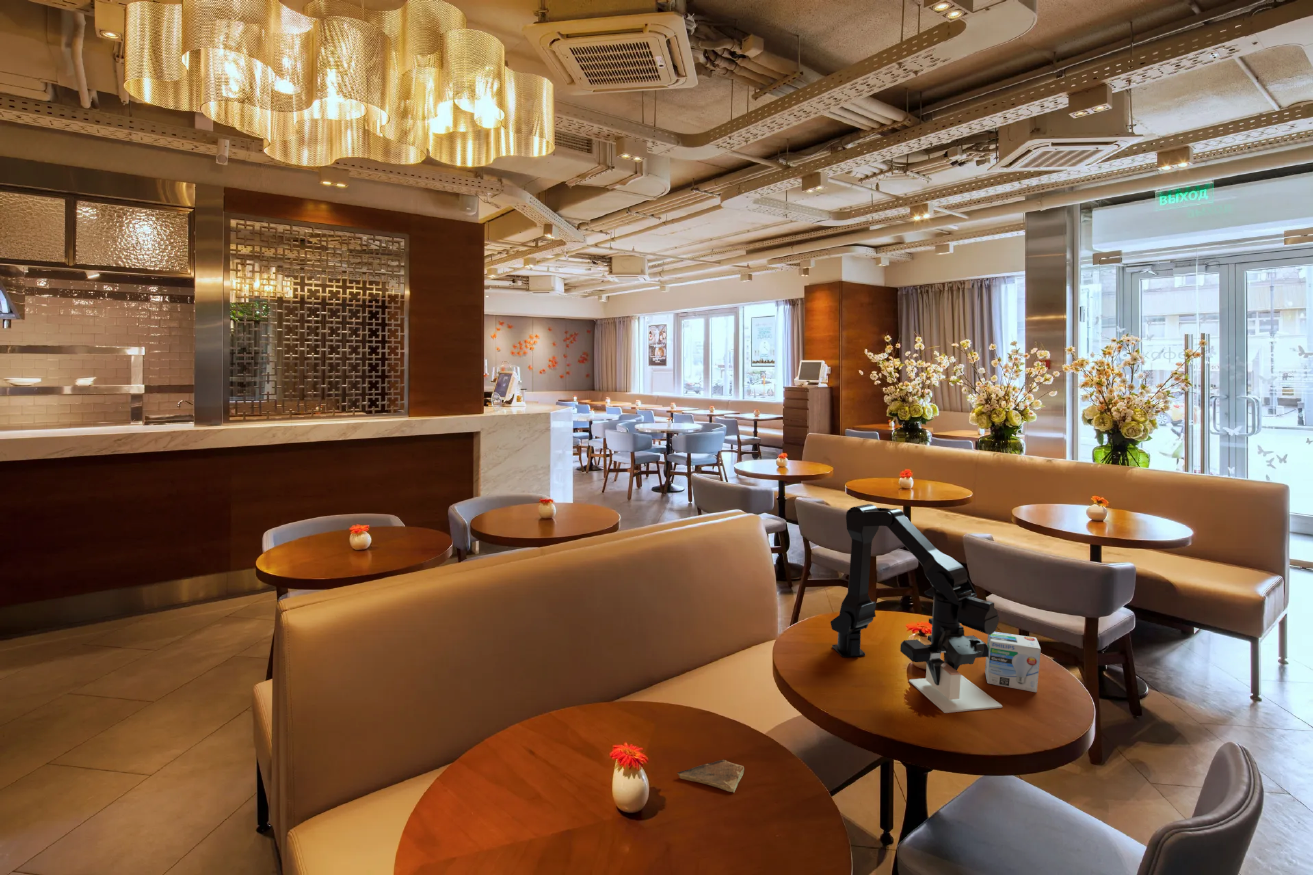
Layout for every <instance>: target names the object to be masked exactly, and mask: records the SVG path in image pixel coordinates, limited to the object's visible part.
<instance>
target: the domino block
mask: <svg viewBox="0 0 1313 875" xmlns="http://www.w3.org/2000/svg"><path fill="white" fill-rule="evenodd" d="M940 659H941V660H943V659H942V658H940ZM925 671H926V673H925V678H926V680H927V681H928V682H929V683H930V684H931V685H933V686H934V687H935V688H936V689H937V690H938V691H940V692H941V693H942V694H943V695H944V696H946V697H947V698H948V699H949V700H952V699H959V695H960V680H961V675H962V674H961V673H960V672H959V671H958V670H957V671H956V670H955V669H954V668H952V667H951V666H950V665H948V664H947V663H946V662H944V663H943V664H942V665H941V669H940V682H939V685H936V684H935V683H934V680H933V678H932V675H931V672H930V670H929V667H928V665H927V664H926V669H925Z"/></svg>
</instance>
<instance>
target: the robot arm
mask: <svg viewBox="0 0 1313 875" xmlns="http://www.w3.org/2000/svg"><path fill="white" fill-rule="evenodd" d="M845 523H846V530H847V533H848V534H849V537H850V538H851V543H850V544H851V545H850V547H851V548H850V557H849V558H850V559H849V572H848V575H849V576H848V587H847V588H848V590H847V593H846V595H845V597H844V598H843V600H842V601H841V605H840V608H839V614H838V616H837V615H836V617H834V618H833V619H832V620H830V622H829V623H830V627H831V630H832V631H835V632H837V644H831V646H832V648H833V649H834V650H835V651H836V652H837V653H838V655H840V656H841V657H842V658H851V657H852V658H853V657H863V656H866V652H865V651H864V650H863V649H861V639H862V636H861V635H862V633H861V632H862V630H864V629H867V628H868V626H869V624H871V623H872V622H873V621H874V618H876V617H877V615H876V608H877V602H876V601H872V600H871V598H870V595H869V585H870V584H869V583H870V572H871V570H870V569H871V558H872V556H871V555H872V544H873V543H872V542H873V539H874V538H875V536H876V534H877V533H878V530H879V529H880V528H879V527H887V529H888V530H890V532H891V533H893V535H894V536H895V537H896V538H897V539H898V540H899V541H900V542H901V543H902V545H904V548H906V549H907V550H908V551H909V552H910V553H911V554H912V555H913V557H915V559H917V561H918V562H919V563H920V565H921V566H922V569H923V573H924V576H925V577H926V578H927V580H928V581H929V583H930V585H931V587H930V588H929V589H927V590H925V591H924V594H925V595H926V596H928V597H932V598H933V600H932V602H933V604H932V605H933V606H932V618H928V623H929V624H930V625H931V634H930V635H929V634H928V635H927V640H928V641H929V642H930V644H924V643H923V642H921V641H920V640H919V639H905V640H903V641H901V642H900V646H899V648H900V649H899V651H900V653H902V654H903V655H904V656H905V657H906V658H908V659H909V660H910V661H912V662H913V663H926V666H927V665H928V667H929V670H930V672H931V675H932V678H933V680H934V683H935V684H936V685H939V682H940V669H941V665H942V664H943V663H944V662H946V663H947V664H948V665H950V666H951V667H952V668H954V669H955V670H956V671H958V669H959V668H960V666H962V665H973V664H974V663H975V660H976V659H979V658H986V657H988V656H989V648H988V645H987V643H986V642H984V641H983V640H981V639H980V638H978V637H977V636H975V635H965V629H964V627H965V628H969V629H972V630H974V631H977V632H980V633H983V634H986V635H987V636H988V635H991V634H992V633H994V632H996V630H997V628H998V625H999V620H1000V616H999V613H998V610H997V608H995V602H993V601H990V600H984V599H980V598H978V597H977V596H978V593H977V591H976V589H975V588H974V586H973V584H972V582H971V581H970V579H969V577H968V572H967V569H966V568H965V567H964V566H963V565H962V564H961V563H960V562H958V561H957V560H955V559H954V558H953V557H951V556H950V555H947V554H945V553H943V552H942V551H940V550H939V549H938V548H936V546H934V545H933V544H932V543H931V542H930V540H929V539H928V538H927V537H926V536H925V535H924V534H923V533H922V532H921V531H920V529H918V528H917V527H916V526H915V525H914V524H913V523H912V522H911V521H910V520H909V518H907V517H906V516H905V513H904V511H903V510H902V509H900V508H897V507H896V508H888V507H877V506H876V505H874V504H871V503H867V504H861V505H856V506H852V507H850V508H849V509H848V510H847V511H846V514H845ZM958 589H961V590H960V591H957V592H956V591H955V590H958ZM941 654H943V659H942V658H941ZM941 659H942V660H941Z"/></svg>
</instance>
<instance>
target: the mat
mask: <svg viewBox="0 0 1313 875" xmlns="http://www.w3.org/2000/svg"><path fill="white" fill-rule="evenodd" d="M908 682H909V683H910V684H911V685H913V686H914V687H915V688H916V690H918V691H919V692H920V693H921V694H922V695H924V696H925V697H926V698H927V699H928V700H929V701H930V702H931V703H933V704H934V705H935V706H936V707H937V708H938V709H939V710H941V711H942V712H943V713H944V714H948V713H949V714H950V713H956V712H957V713H959V712H968V711H969V712H971V711H980V710H990V709H991V710H992V709H1001V708H1003V705H1002V704H1001V703H1000V702H998V701H996V699H994V698H993V697H991V696H990V695H989V694H987V693H986V692H985V691H984V690H982V689H981V688H979V686H977V685H976V684H974V683H973V682H971V681H970V680H969V679H967V678H966V677H965V676H964V675H963V674H961V680H960V695H959V699H952V700H949V699H948V698H947V697H946V696H944V695H943V694H942V693H941V692H940V691H938V690H937V689H936V688H935V687H934V686H933V685H931V684H930V683H929V682H928V681H927V680H926V677H925V678H911V679H909V680H908Z"/></svg>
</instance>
